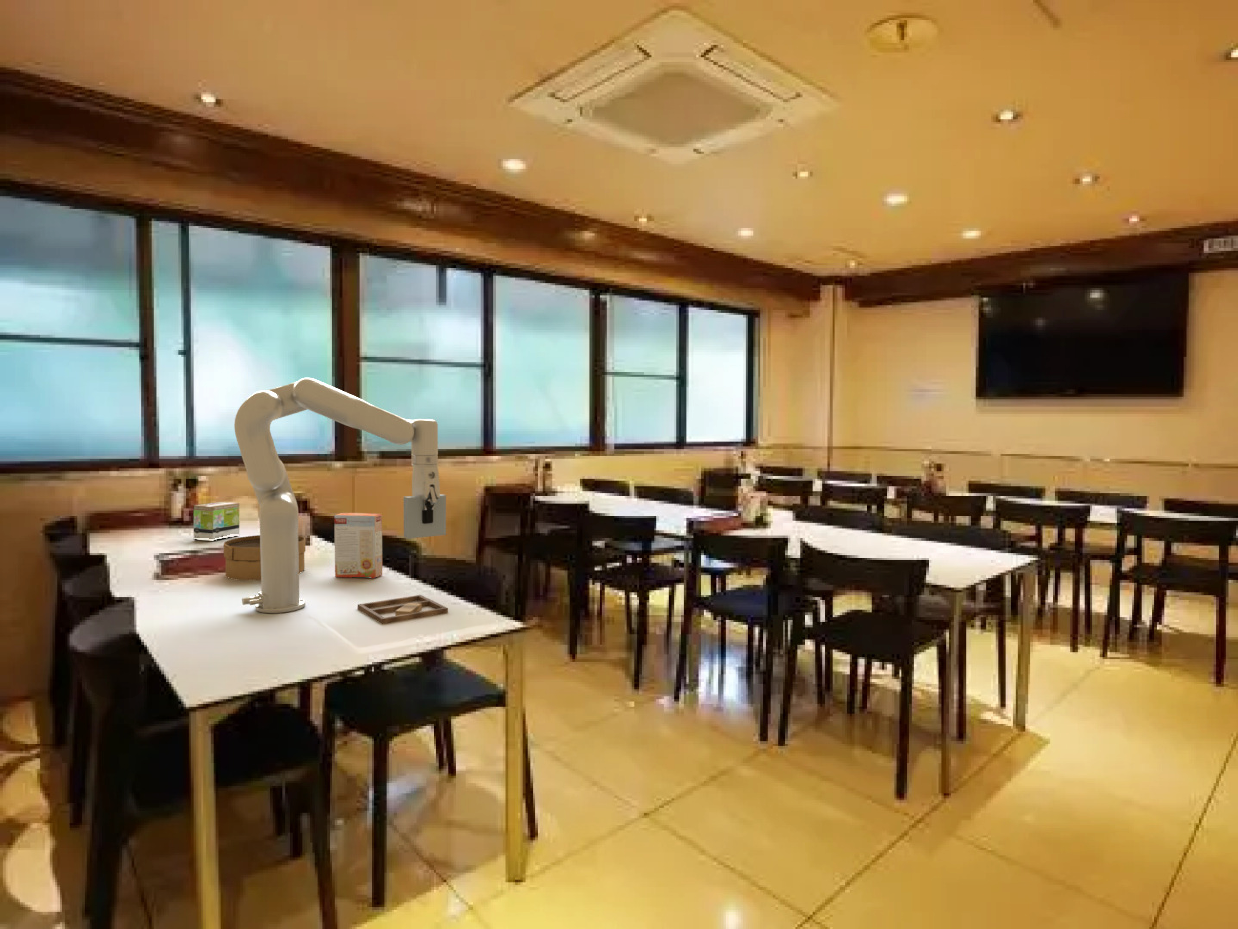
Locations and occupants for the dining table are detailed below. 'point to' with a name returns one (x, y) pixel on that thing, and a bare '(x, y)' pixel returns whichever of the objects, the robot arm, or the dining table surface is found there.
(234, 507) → the tea box
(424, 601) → the frame
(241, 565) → the steamer basket
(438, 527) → the grey panel
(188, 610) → the dining table surface
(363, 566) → the cracker box
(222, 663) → the dining table surface
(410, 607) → the upper offcut
